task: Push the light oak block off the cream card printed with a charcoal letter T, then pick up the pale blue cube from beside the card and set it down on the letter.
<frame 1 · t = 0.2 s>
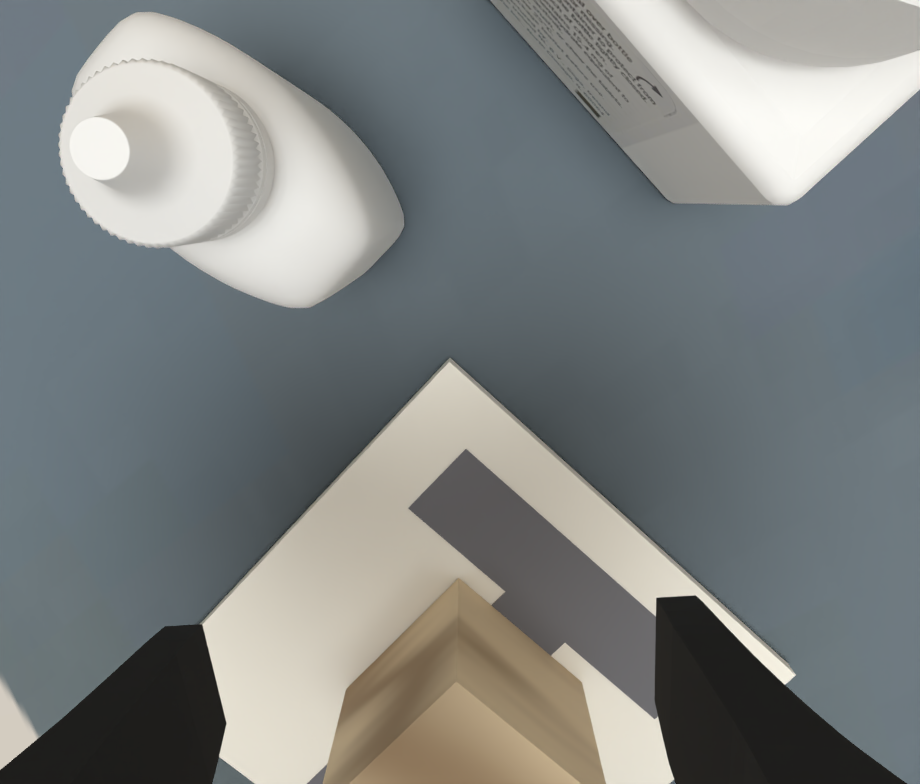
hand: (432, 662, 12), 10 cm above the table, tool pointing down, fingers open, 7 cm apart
oak block: (463, 685, 23), point 1 cm above the table, touching letter card
eye dropper bottle: (309, 178, 21), on the table
letter card: (463, 673, 24), on the table
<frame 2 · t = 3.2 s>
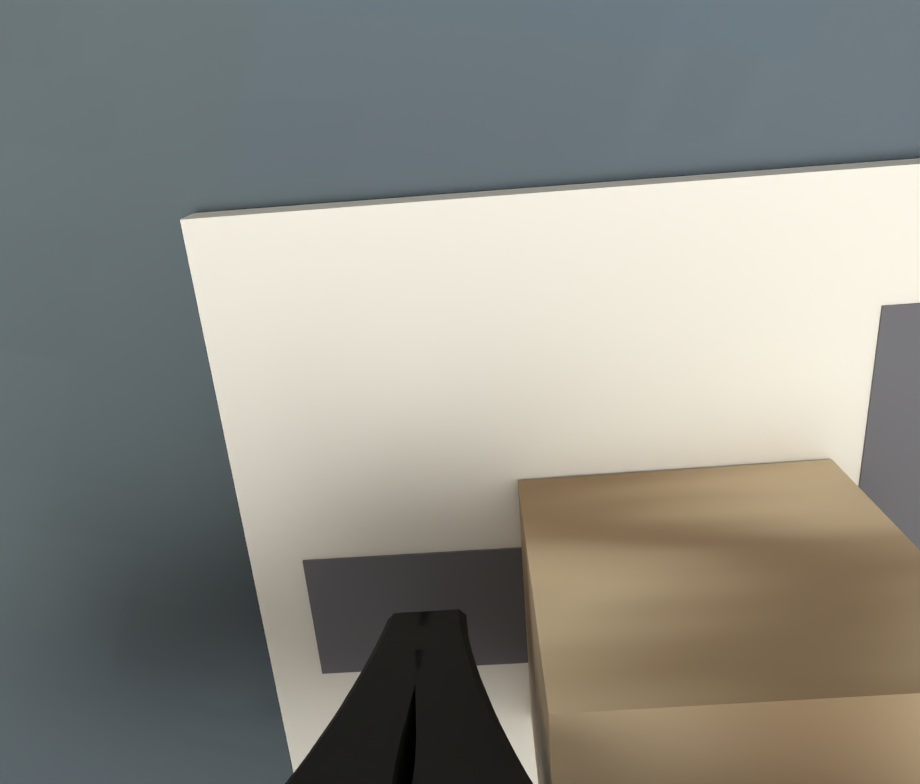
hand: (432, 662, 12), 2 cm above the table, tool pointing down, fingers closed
oak block: (670, 599, 13), point 1 cm above the table, touching gripper
letter card: (655, 577, 14), on the table
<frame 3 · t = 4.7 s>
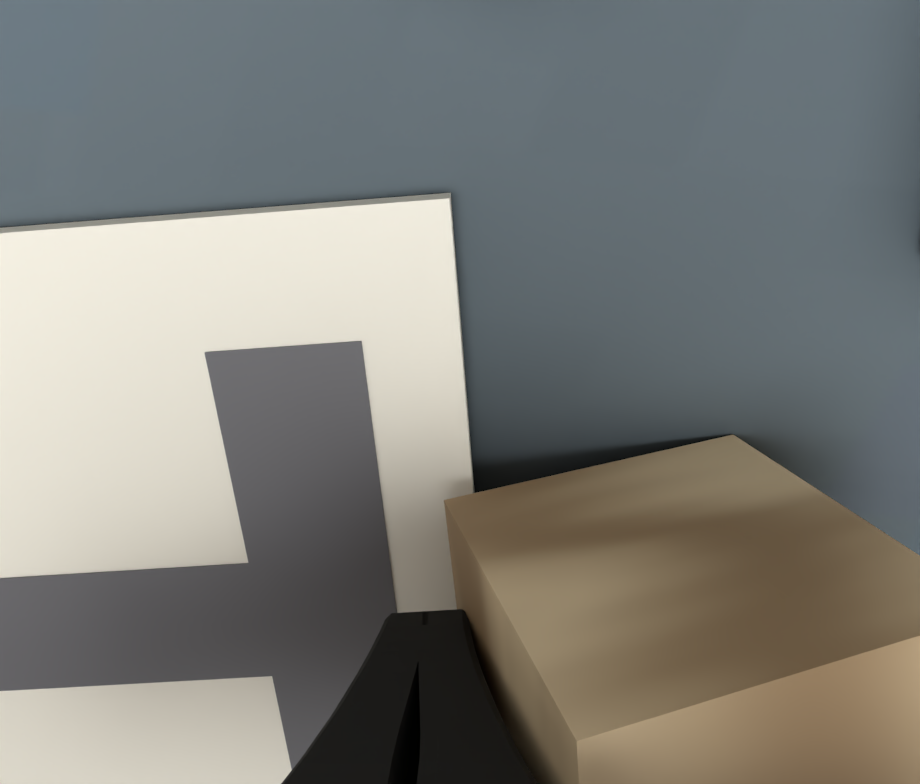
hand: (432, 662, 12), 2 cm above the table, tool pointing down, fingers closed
oak block: (599, 595, 13), point 1 cm above the table, tilted 16°, touching gripper
letter card: (103, 609, 14), on the table
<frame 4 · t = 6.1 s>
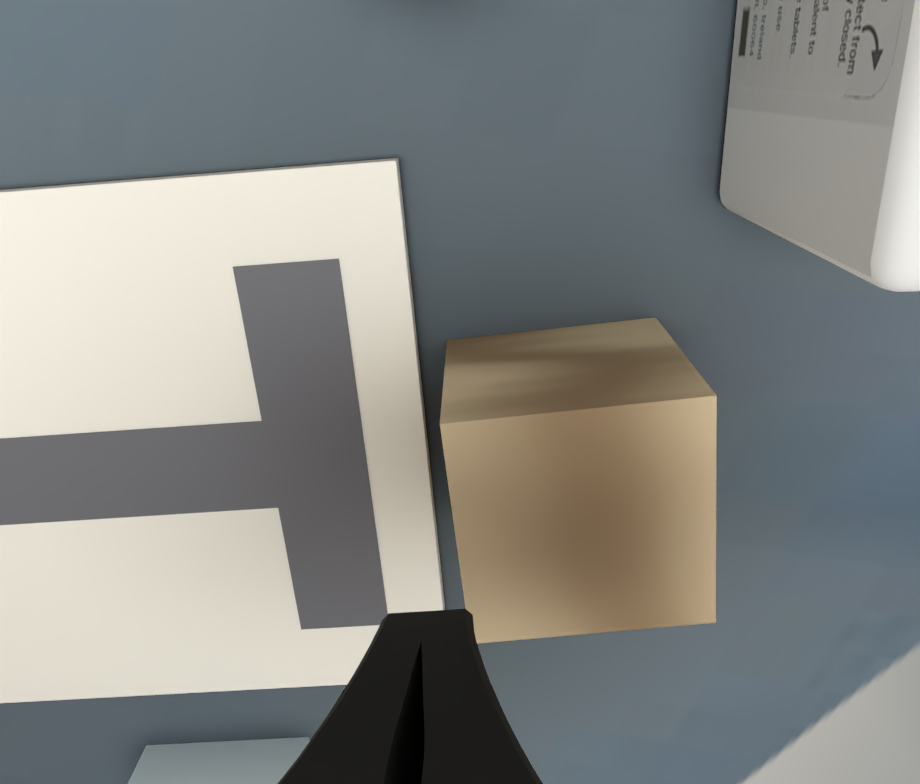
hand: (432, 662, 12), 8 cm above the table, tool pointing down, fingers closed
container: (914, 14, 16), on the table
oak block: (557, 422, 20), on the table
letter card: (157, 461, 20), on the table
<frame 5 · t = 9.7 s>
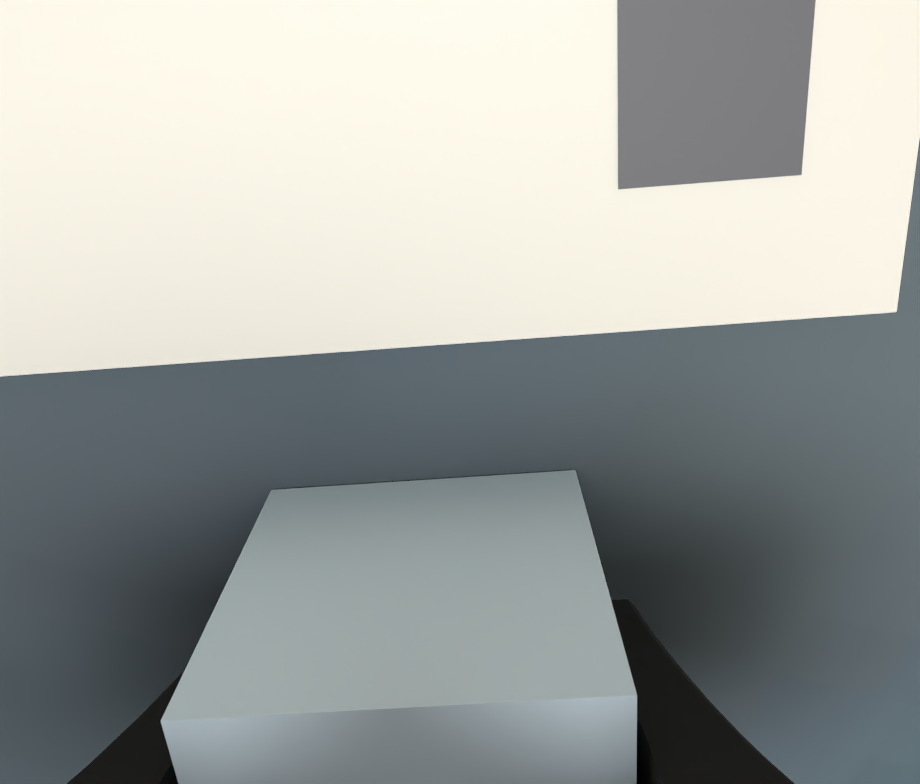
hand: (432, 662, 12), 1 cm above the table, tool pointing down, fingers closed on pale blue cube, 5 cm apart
pale blue cube: (435, 606, 14), on the table, touching gripper
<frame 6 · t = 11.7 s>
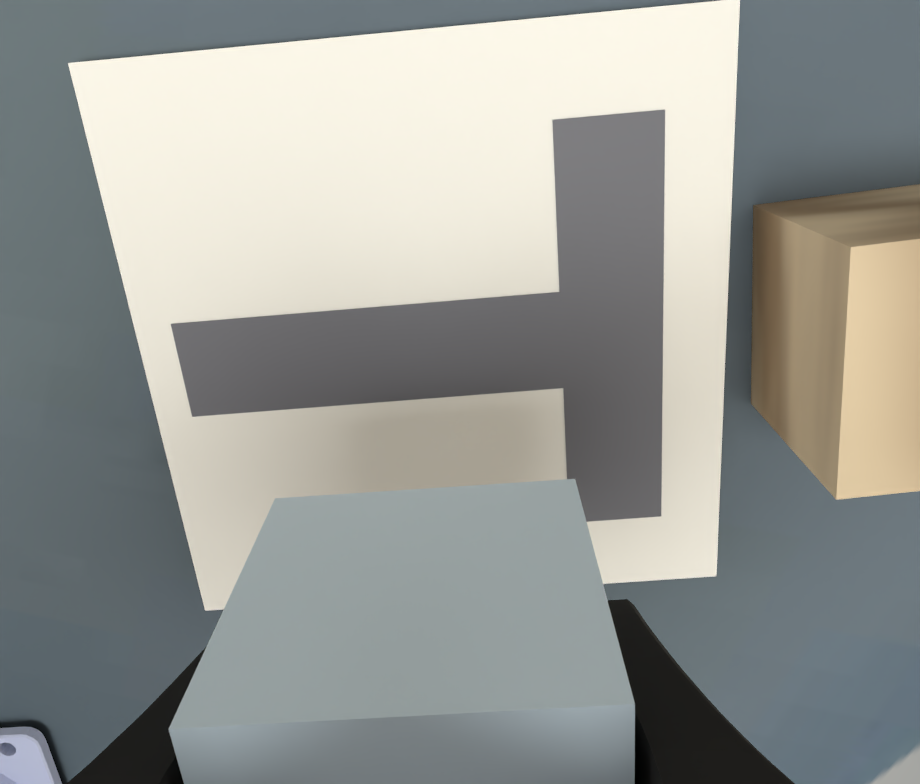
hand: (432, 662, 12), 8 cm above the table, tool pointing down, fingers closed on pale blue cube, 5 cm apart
oak block: (855, 295, 19), on the table
pale blue cube: (437, 612, 14), point 7 cm above the table, touching gripper
letter card: (432, 343, 19), on the table
when the fingers open (3 cm above the table, at t = 13.7 s): pale blue cube drops 1 cm, resting on letter card.
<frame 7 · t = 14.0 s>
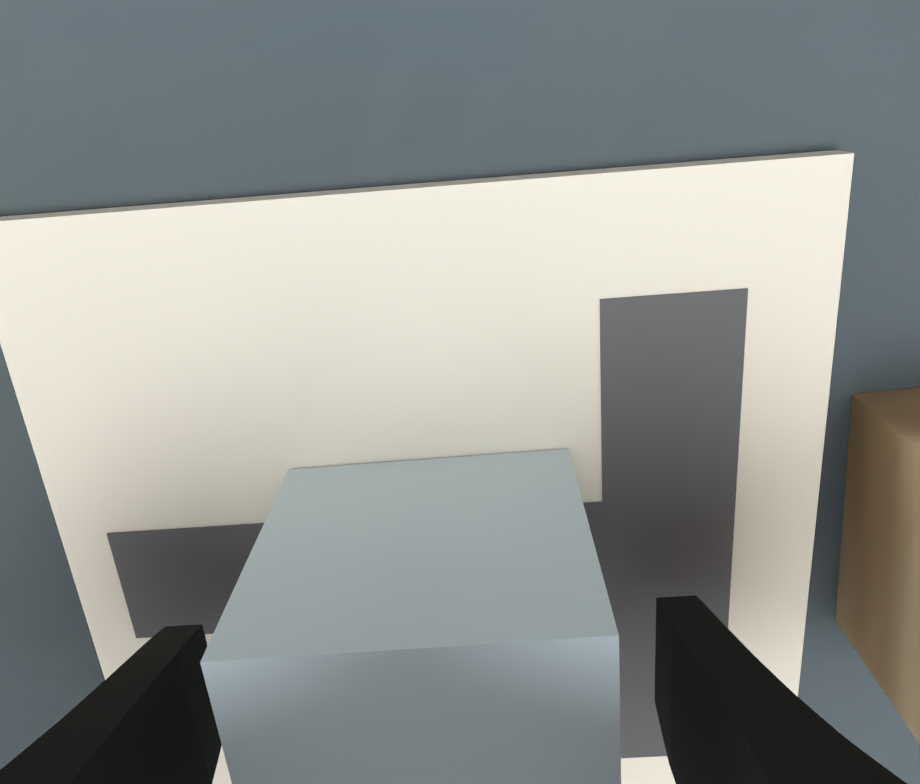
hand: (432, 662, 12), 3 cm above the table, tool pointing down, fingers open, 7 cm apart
pale blue cube: (441, 576, 15), point 1 cm above the table, touching letter card
letter card: (439, 549, 15), on the table
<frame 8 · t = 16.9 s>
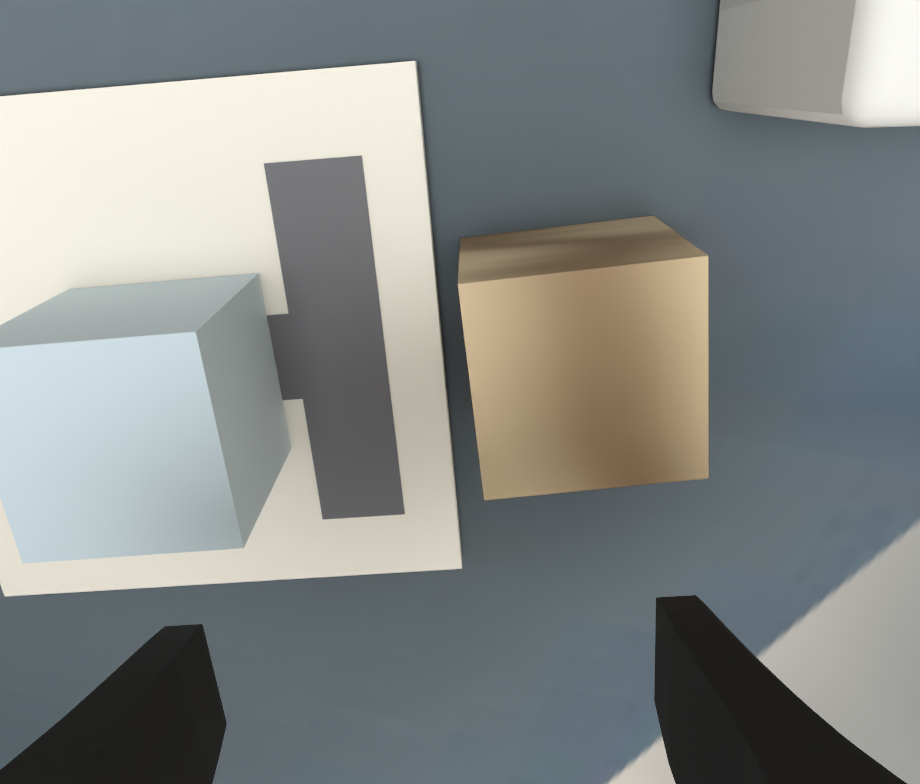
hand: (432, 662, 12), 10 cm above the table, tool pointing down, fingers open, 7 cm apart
oak block: (562, 318, 21), on the table
pale blue cube: (184, 372, 21), point 1 cm above the table, touching letter card
letter card: (189, 357, 22), on the table
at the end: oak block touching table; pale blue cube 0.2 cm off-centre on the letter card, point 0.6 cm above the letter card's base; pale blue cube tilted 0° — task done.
